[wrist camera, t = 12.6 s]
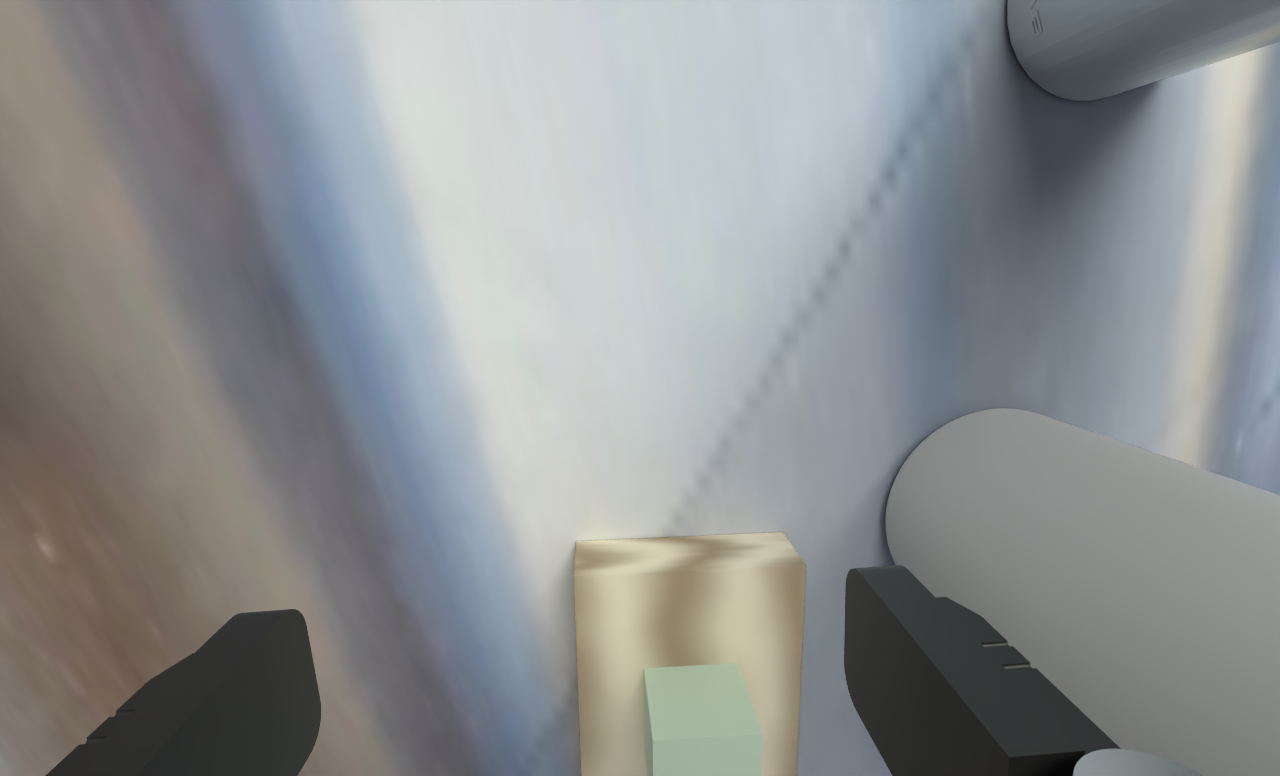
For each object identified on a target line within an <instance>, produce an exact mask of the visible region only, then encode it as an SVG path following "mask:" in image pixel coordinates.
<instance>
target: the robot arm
mask: <svg viewBox="0 0 1280 776" xmlns="http://www.w3.org/2000/svg"><path fill="white" fill-rule="evenodd" d="M1007 24H1008V29H1009V35H1010V40H1011V44H1012V47H1013V49H1014V52H1015V54H1016V57H1017V59H1018V61H1019V63H1020V64H1021V66H1022V67H1023V69H1024V70H1025V72H1026V73H1027V74H1028V76H1029V77H1030V78H1031V79H1032V80H1033V81H1034V82H1036V83H1037V84H1038V85H1039V86H1040V87H1041V88H1042V89H1044V90H1046V91H1048V92H1050V93H1052V94H1054V95H1055V96H1057V97H1061V98H1065V99H1069V100H1073V101H1093V100H1097V99H1102V98H1106V97H1110V96H1113V95H1116V94H1119V93H1122V92H1125V91H1128V90H1131V89H1134V88H1137V87H1140V86H1144V85H1147V84H1150V83H1153V82H1156V81H1159V80H1162V79H1165V78H1168V77H1171V76H1175V75H1178V74H1181V73H1184V72H1187V71H1191V70H1194V69H1197V68H1200V67H1203V66H1206V65H1209V64H1212V63H1215V62H1218V61H1221V60H1224V59H1227V58H1230V57H1233V56H1236V55H1239V54H1242V53H1245V52H1248V51H1252V50H1255V49H1258V48H1261V47H1264V46H1267V45H1270V44H1273V43H1276V42H1279V41H1280V0H1008V2H1007ZM844 666H845V675H846V681H847V685H848V689H849V693H850V696H851V699H852V702H853V704H854V707H855V709H856V711H857V712H858V714H859V716H860V718H861V720H862V721H863V723H864V725H865V727H866V729H867V730H868V732H869V734H870V736H871V738H872V739H873V741H874V743H875V745H876V747H877V748H878V750H879V752H880V754H881V756H882V757H883V759H884V761H885V763H886V765H887V766H888V768H889V770H890V772H891V774H892V776H1203V775H1201V774H1200V773H1198V772H1196V771H1194V770H1192V769H1190V768H1187V767H1185V766H1183V765H1181V764H1178V763H1176V762H1173V761H1171V760H1168V759H1165V758H1162V757H1160V756H1156V755H1152V754H1149V753H1145V752H1140V751H1134V750H1129V749H1121V748H1120V747H1119V746H1118V745H1117V744H1115V743H1114V742H1113V741H1112V740H1111V739H1110V738H1109V737H1108V736H1107V735H1106V734H1105V733H1104V732H1103V731H1102V730H1101V729H1100V728H1099V727H1098V726H1097V725H1095V724H1094V723H1093V722H1092V721H1091V720H1090V719H1089V718H1088V717H1087V716H1086V715H1085V714H1084V713H1083V712H1082V711H1081V710H1080V709H1079V708H1078V707H1077V706H1075V705H1074V704H1073V703H1072V702H1071V701H1070V700H1069V699H1068V698H1067V697H1066V696H1065V695H1064V694H1063V693H1062V692H1061V691H1060V690H1059V689H1058V688H1057V687H1055V686H1054V685H1053V684H1052V683H1051V682H1050V681H1049V680H1048V679H1047V678H1046V677H1045V676H1044V675H1043V674H1042V673H1041V672H1040V671H1039V670H1038V669H1037V668H1031V665H1030V662H1029V661H1028V660H1027V659H1026V658H1025V657H1024V656H1023V655H1022V654H1021V653H1020V652H1019V651H1018V650H1017V649H1016V648H1014V647H1013V646H1009V645H1008V641H1007V640H1006V639H1005V638H1004V637H1003V636H1002V635H1001V634H1000V633H999V632H998V631H997V630H996V629H994V628H993V627H992V626H991V625H990V624H989V623H988V622H987V621H986V620H985V619H984V618H983V617H982V616H980V615H978V614H977V613H975V612H973V611H971V610H969V609H967V608H966V607H964V606H962V605H960V604H958V603H956V602H955V601H953V600H951V599H949V598H947V597H935V596H934V595H933V594H932V593H931V592H930V591H929V590H928V589H927V588H926V587H925V586H924V585H923V584H922V583H921V582H920V581H919V580H918V579H917V578H916V577H915V576H914V575H913V574H912V573H911V572H910V571H909V570H908V569H907V568H906V567H904V566H902V565H895V566H881V567H868V568H854V569H851V570H850V571H849V572H848V575H847V579H846V597H845V647H844ZM320 720H321V702H320V696H319V691H318V685H317V680H316V674H315V669H314V664H313V658H312V653H311V647H310V642H309V636H308V631H307V626H306V622H305V619H304V617H303V615H302V614H301V613H300V612H299V611H298V610H295V609H289V610H276V611H262V612H249V613H240V614H237V615H235V616H234V617H232V618H231V619H230V620H229V621H228V622H227V623H226V624H225V625H224V626H223V627H222V628H221V629H219V630H218V631H217V632H216V633H215V634H214V635H213V636H212V637H211V638H210V639H209V640H208V641H207V642H206V643H205V644H204V645H203V646H202V647H201V648H200V649H198V650H197V651H196V652H195V653H193V654H191V655H190V656H188V657H186V658H185V659H183V660H181V661H180V662H178V663H177V664H175V665H173V666H172V667H170V668H168V669H167V670H165V671H164V672H162V673H160V674H159V675H157V676H155V677H154V678H152V679H151V680H149V681H148V682H147V683H146V684H145V685H144V686H143V687H142V688H141V689H139V690H138V691H137V692H136V693H135V694H134V695H133V696H132V697H131V698H130V699H129V700H127V701H126V702H125V703H124V704H123V705H122V706H121V707H120V708H119V709H118V710H117V711H116V715H115V717H109V718H108V719H107V720H106V721H105V722H103V723H102V724H101V725H100V726H99V727H98V728H97V729H96V730H95V731H94V732H93V733H91V734H90V735H89V736H88V737H87V742H86V744H82V745H78V746H77V747H76V748H75V749H74V750H73V751H72V752H71V753H70V754H69V755H68V756H66V757H65V758H64V759H63V760H62V761H61V762H60V763H59V764H58V765H57V766H56V767H54V768H53V769H52V770H51V771H50V772H49V773H48V774H47V775H46V776H297V775H298V774H299V772H300V770H301V769H302V767H303V765H304V764H305V762H306V760H307V759H308V757H309V755H310V753H311V752H312V750H313V747H314V745H315V742H316V739H317V736H318V732H319V727H320Z"/></svg>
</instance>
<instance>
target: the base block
mask: <svg viewBox="0 0 1280 776" xmlns="http://www.w3.org/2000/svg"><path fill="white" fill-rule="evenodd" d="M805 581H806V564H805V563H804V561H803V560H802V559H801V557H800V556H799V554H798V553H797V551H796V550H795V549H794V547H793V546H792V544H791V543H790V541H789V540H788V539H787V537H786V536H785V534H784V533H783V532H774V533H751V534H728V535H706V536H683V537H660V538H638V539H615V540H592V541H576V550H575V565H574V598H575V624H576V651H577V677H578V703H579V730H580V756H581V776H648V775H647V765H646V755H645V710H644V668H659V667H676V666H694V665H711V664H728V663H738V665H739V668H740V671H741V674H742V677H743V679H744V682H745V685H746V688H747V691H748V693H749V696H750V699H751V702H752V705H753V707H754V710H755V713H756V716H757V719H758V721H759V724H760V727H761V730H762V733H763V745H762V775H761V776H797V759H798V737H799V715H800V692H801V670H802V648H803V625H804V603H805Z"/></svg>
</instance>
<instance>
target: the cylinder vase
mask: <svg viewBox="0 0 1280 776" xmlns="http://www.w3.org/2000/svg"><path fill="white" fill-rule="evenodd" d="M886 536H887V542H888V546H889V550H890V553H891V556H892V558H893V560H894V563H895V565H902V566H904V567H906V568H907V569H908V570H909V571H910V572H911V573H912V574H913V575H914V576H915V577H916V578H917V579H918V580H919V581H920V582H921V583H922V584H923V585H924V586H925V587H926V588H927V589H928V590H929V591H930V592H931V593H932V594H933V595H934V596H935V597H947V598H949V599H951V600H953V601H955V602H956V603H958V604H960V605H962V606H964V607H966V608H967V609H969V610H971V611H973V612H975V613H977V614H978V615H980V616H982V617H983V618H984V619H985V620H986V621H987V622H988V623H989V624H990V625H991V626H992V627H993V628H994V629H996V630H997V631H998V632H999V633H1000V634H1001V635H1002V636H1003V637H1004V638H1005V639H1006V640H1007V641H1008V645H1009V646H1013V647H1014V648H1016V649H1017V650H1018V651H1019V652H1020V653H1021V654H1022V655H1023V656H1024V657H1025V658H1026V659H1027V660H1028V661H1029V662H1030V665H1031V668H1037V669H1038V670H1039V671H1040V672H1041V673H1042V674H1043V675H1044V676H1045V677H1046V678H1047V679H1048V680H1049V681H1050V682H1051V683H1052V684H1053V685H1054V686H1055V687H1057V688H1058V689H1059V690H1060V691H1061V692H1062V693H1063V694H1064V695H1065V696H1066V697H1067V698H1068V699H1069V700H1070V701H1071V702H1072V703H1073V704H1074V705H1075V706H1077V707H1078V708H1079V709H1080V710H1081V711H1082V712H1083V713H1084V714H1085V715H1086V716H1087V717H1088V718H1089V719H1090V720H1091V721H1092V722H1093V723H1094V724H1095V725H1097V726H1098V727H1099V728H1100V729H1101V730H1102V731H1103V732H1104V733H1105V734H1106V735H1107V736H1108V737H1109V738H1110V739H1111V740H1112V741H1113V742H1114V743H1115V744H1117V745H1118V746H1119V747H1120V748H1121V749H1129V750H1134V751H1140V752H1145V753H1149V754H1152V755H1156V756H1160V757H1162V758H1165V759H1168V760H1171V761H1173V762H1176V763H1178V764H1181V765H1183V766H1185V767H1187V768H1190V769H1192V770H1194V771H1196V772H1198V773H1200V774H1201V775H1203V776H1280V495H1278V494H1275V493H1272V492H1269V491H1266V490H1264V489H1261V488H1258V487H1255V486H1252V485H1249V484H1246V483H1243V482H1240V481H1237V480H1234V479H1231V478H1228V477H1225V476H1222V475H1219V474H1216V473H1213V472H1210V471H1207V470H1204V469H1201V468H1198V467H1195V466H1192V465H1189V464H1186V463H1183V462H1180V461H1177V460H1174V459H1171V458H1168V457H1165V456H1162V455H1160V454H1157V453H1154V452H1151V451H1148V450H1145V449H1142V448H1139V447H1136V446H1133V445H1130V444H1127V443H1124V442H1121V441H1118V440H1115V439H1112V438H1109V437H1106V436H1103V435H1100V434H1097V433H1094V432H1091V431H1088V430H1085V429H1082V428H1079V427H1076V426H1073V425H1070V424H1067V423H1064V422H1061V421H1058V420H1055V419H1053V418H1050V417H1047V416H1044V415H1041V414H1038V413H1034V412H1031V411H1026V410H1021V409H1011V408H998V409H988V410H982V411H978V412H974V413H970V414H967V415H964V416H962V417H959V418H957V419H955V420H953V421H951V422H949V423H947V424H945V425H944V426H942V427H940V428H939V429H937V430H936V431H934V432H933V433H932V434H930V435H929V436H928V437H927V438H926V439H924V440H923V441H922V442H921V443H920V444H919V445H918V446H917V447H916V448H915V449H914V451H913V452H912V453H911V454H910V455H909V457H908V458H907V459H906V461H905V462H904V464H903V465H902V467H901V469H900V470H899V472H898V474H897V476H896V478H895V480H894V483H893V485H892V488H891V491H890V494H889V498H888V503H887V509H886Z"/></svg>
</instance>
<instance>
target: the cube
mask: <svg viewBox="0 0 1280 776" xmlns="http://www.w3.org/2000/svg"><path fill="white" fill-rule="evenodd" d="M644 710H645V755H646V765H647V775H648V776H761V775H762V745H763V733H762V730H761V727H760V724H759V721H758V719H757V716H756V713H755V710H754V707H753V705H752V702H751V699H750V696H749V693H748V691H747V688H746V685H745V682H744V679H743V677H742V674H741V671H740V668H739V665H738V663H728V664H711V665H694V666H676V667H659V668H644Z"/></svg>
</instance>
